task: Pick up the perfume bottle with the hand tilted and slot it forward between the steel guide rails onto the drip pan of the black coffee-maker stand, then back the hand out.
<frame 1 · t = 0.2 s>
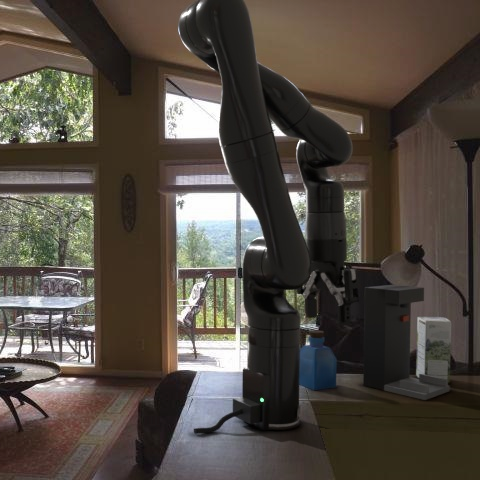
hand: (327, 320, 110), 17 cm above the table, tool pointing down, fingers open, 8 cm apart
syrup box: (432, 380, 134), on the table
coffee maker: (405, 388, 126), on the table
perfume bottle: (315, 386, 128), on the table
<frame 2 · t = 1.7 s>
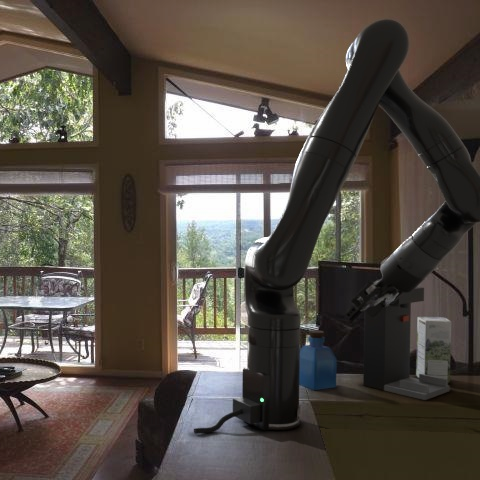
hand: (358, 316, 120), 17 cm above the table, tool tilted 45°, fingers open, 8 cm apart
nothing on the table moved.
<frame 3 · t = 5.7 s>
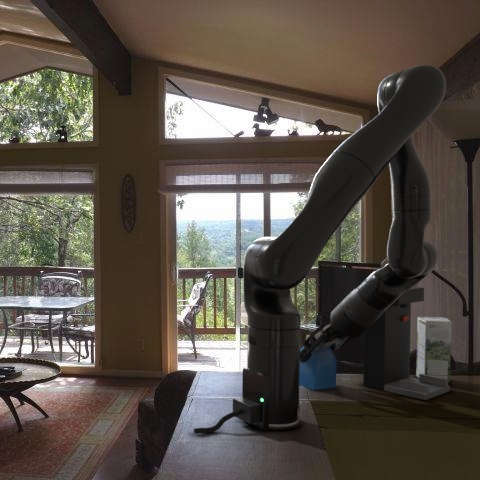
hand: (311, 357, 129), 6 cm above the table, tool tilted 45°, fingers closed on perfume bottle, 7 cm apart
perfume bottle: (315, 386, 128), on the table, touching gripper
everything else where it was.
when the fingers open (9 cm above the table, at t = 16.7 s): perfume bottle stays where it is, resting on coffee maker.
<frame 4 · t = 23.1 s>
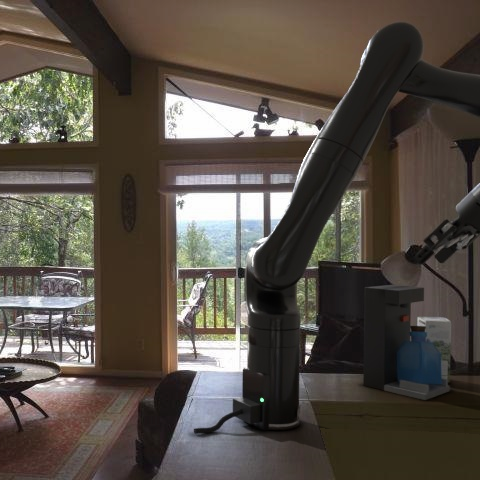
hand: (427, 260, 116), 29 cm above the table, tool tilted 45°, fingers open, 8 cm apart
perfume bottle: (419, 383, 124), point 2 cm above the table, touching coffee maker
everything else where it was.
at the end: perfume bottle 0.5 cm from the target spot, point 1.9 cm above the table; perfume bottle tilted 11°; the gripper is holding nothing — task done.
